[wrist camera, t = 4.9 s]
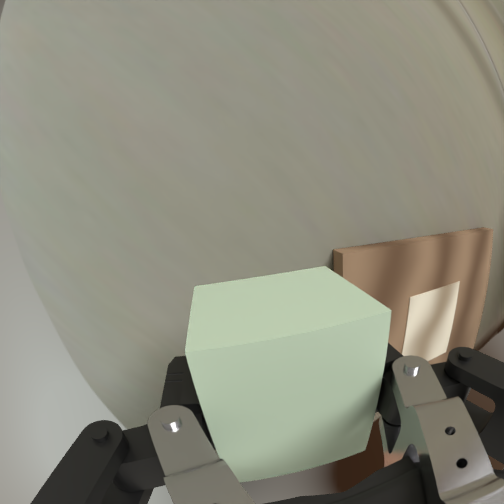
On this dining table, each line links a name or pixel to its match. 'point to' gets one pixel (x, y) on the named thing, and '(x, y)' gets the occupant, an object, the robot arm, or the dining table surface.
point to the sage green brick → (287, 369)
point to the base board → (425, 287)
